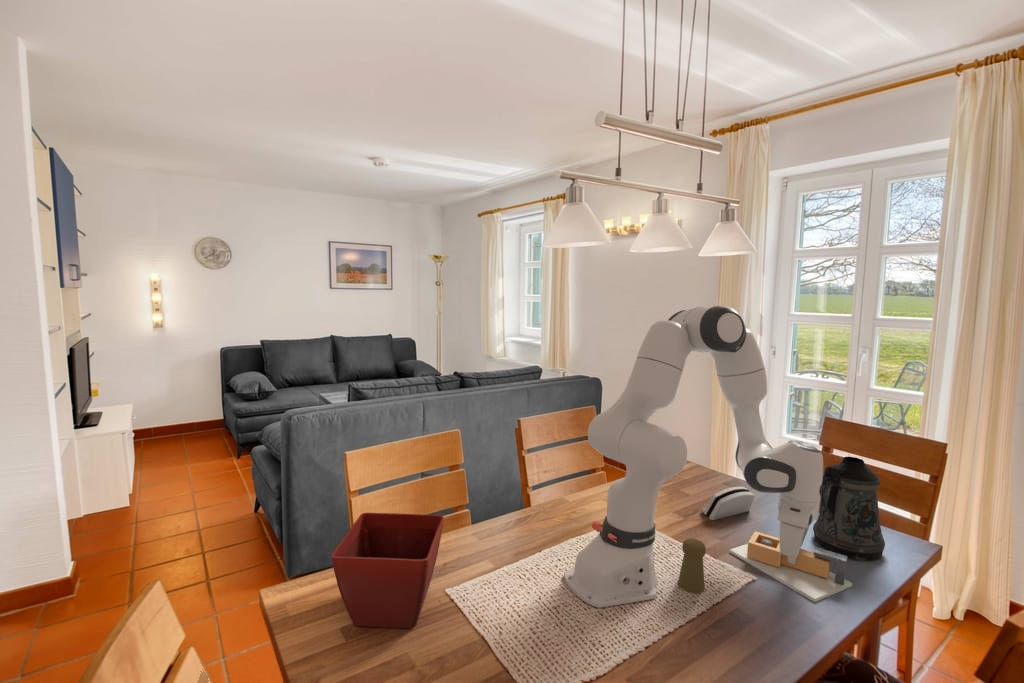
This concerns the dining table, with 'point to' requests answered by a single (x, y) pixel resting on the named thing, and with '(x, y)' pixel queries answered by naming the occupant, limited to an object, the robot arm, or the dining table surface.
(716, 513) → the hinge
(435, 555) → the plant pot
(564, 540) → the dining table surface
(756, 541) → the link
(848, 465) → the beer stein
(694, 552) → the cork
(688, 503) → the dining table surface
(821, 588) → the board
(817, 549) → the bracket
